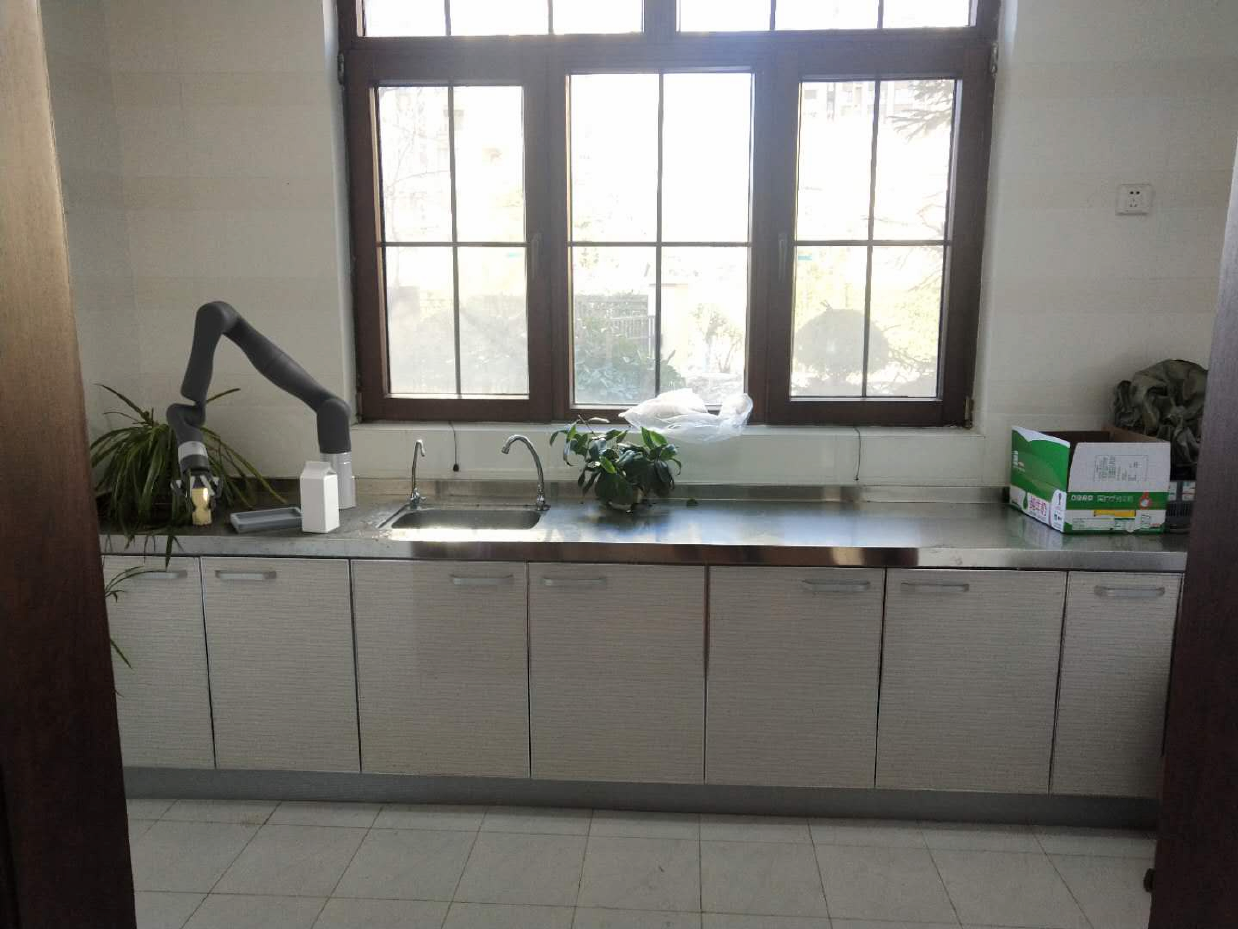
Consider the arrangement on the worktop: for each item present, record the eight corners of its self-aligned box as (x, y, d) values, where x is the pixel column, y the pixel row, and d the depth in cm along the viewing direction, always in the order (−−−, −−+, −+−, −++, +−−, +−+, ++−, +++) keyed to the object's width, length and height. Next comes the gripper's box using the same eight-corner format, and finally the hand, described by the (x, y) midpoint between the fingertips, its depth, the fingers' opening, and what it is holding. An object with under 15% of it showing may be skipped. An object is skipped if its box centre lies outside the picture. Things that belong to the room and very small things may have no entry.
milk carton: (325, 533, 229) (322, 464, 226) (302, 531, 231) (298, 463, 227) (339, 527, 236) (336, 460, 233) (316, 525, 238) (313, 459, 234)
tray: (297, 515, 249) (296, 506, 249) (308, 525, 237) (308, 516, 237) (230, 522, 239) (230, 513, 239) (239, 533, 228) (238, 524, 227)
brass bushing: (210, 520, 241) (207, 485, 240) (212, 523, 238) (209, 488, 236) (192, 522, 239) (189, 487, 237) (194, 525, 235) (191, 490, 233)
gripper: (166, 455, 237) (173, 505, 229) (221, 451, 245) (231, 500, 237) (165, 470, 243) (173, 520, 235) (220, 466, 250) (229, 514, 242)
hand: (202, 510), depth 236 cm, fingers closed on brass bushing, 4 cm apart
